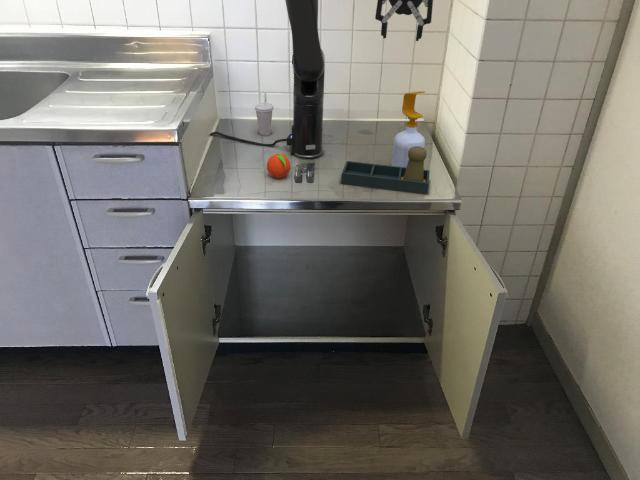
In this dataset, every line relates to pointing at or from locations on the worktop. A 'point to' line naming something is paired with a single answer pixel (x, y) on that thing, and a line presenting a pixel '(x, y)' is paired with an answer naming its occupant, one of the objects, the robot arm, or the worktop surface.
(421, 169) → the cork
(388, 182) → the tray
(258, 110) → the smoothie
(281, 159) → the clementine
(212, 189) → the worktop surface
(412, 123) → the soap bottle
